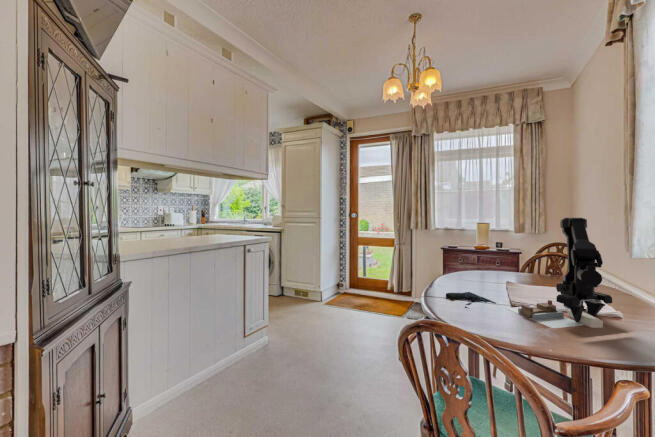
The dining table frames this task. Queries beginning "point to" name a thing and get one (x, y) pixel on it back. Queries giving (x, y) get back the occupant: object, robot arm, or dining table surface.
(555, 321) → the jig board
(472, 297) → the gun
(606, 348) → the dining table surface
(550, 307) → the brown box with tab
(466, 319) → the dining table surface
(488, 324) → the dining table surface
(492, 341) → the dining table surface
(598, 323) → the long cream prism
